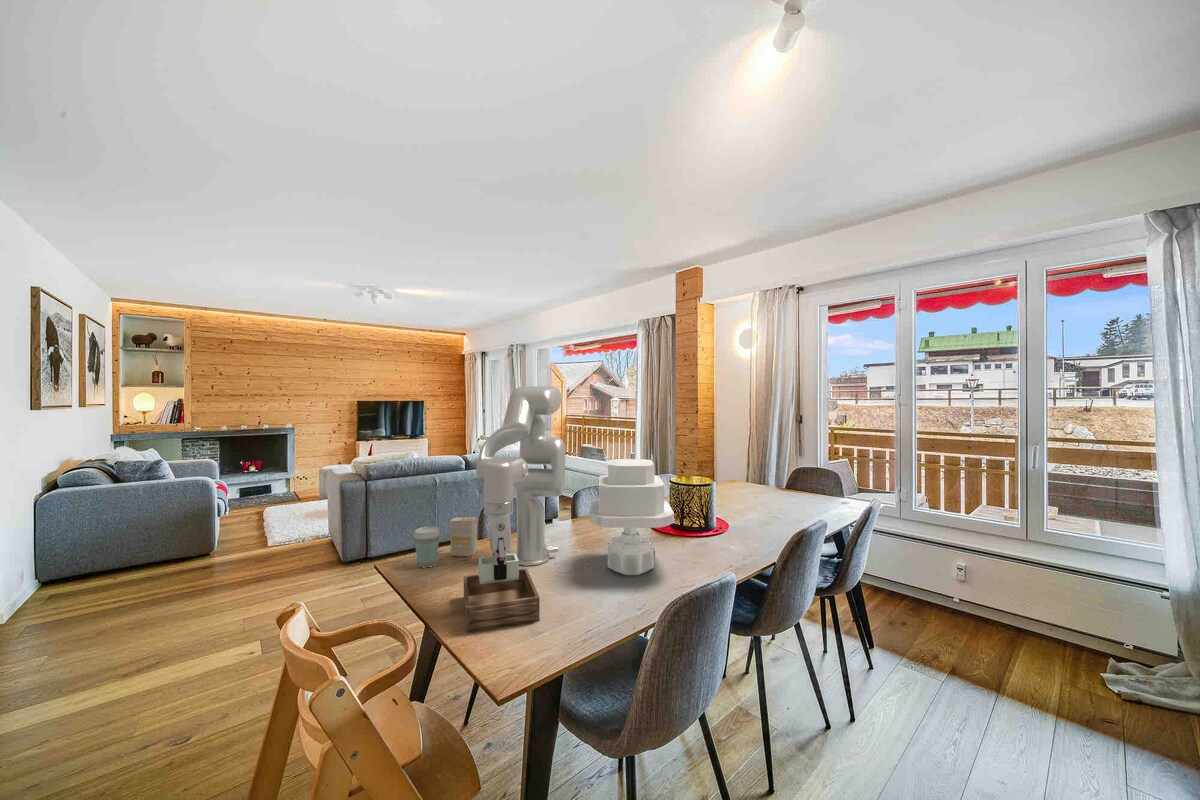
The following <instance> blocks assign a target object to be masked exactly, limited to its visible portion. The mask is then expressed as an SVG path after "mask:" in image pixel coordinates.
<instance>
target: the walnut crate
mask: <svg viewBox="0 0 1200 800" xmlns="http://www.w3.org/2000/svg"><path fill="white" fill-rule="evenodd" d="M463 605H464V621H465V633H471V632H478V631H484V630H491V629H497V628H503V627H509V626H515V625H521V624H528V623H532V622H533V623H535V622H539V621H540V611H541V610H540V595H539V594H538V591H537V588H536V586H535V584H534V581H533V579H532V576H531V575H530V571H529V569H528V568H519V580H511V581H503V582H495V583H487V584H480V580H479V573H478V574H471V575H464V576H463Z"/></svg>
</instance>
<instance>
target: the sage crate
mask: <svg viewBox="0 0 1200 800" xmlns="http://www.w3.org/2000/svg"><path fill="white" fill-rule="evenodd" d="M516 553H517V552H515V553H508V554H507V553H506V563H507V578H506V579H503V580H494V565H495V555H489V556H487V555H486V556H481V557H480V556H479V557H478V574H479V580H480V584H487V583H495V582H503V581H511V580H519V569H520V565H519V560H518V557H517V555H516ZM498 557H499V555H497V558H498Z"/></svg>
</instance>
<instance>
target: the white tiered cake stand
mask: <svg viewBox="0 0 1200 800" xmlns="http://www.w3.org/2000/svg"><path fill="white" fill-rule="evenodd" d="M655 466H656V465H655V464H654V462H653V461H652V459H646V458H629V459H628V458H615V459H608V461H607V469H608V470H607V473H608V474H604V475H599V478H598V499H593V500H591V501H590V506H589V507H590V508H589V517H588V518H589V520H588V521H589V523H591V524H592V525H595V526H598V527H601V528H602V527H603V528H608V529H611V528H614V529H616V528H617V529H618V528H619V529H621V528H622V529H623V531H621V532H620V535H619V536H616V537H613V538H612V539H610V542H608V543H607V568H609V569H610V570H612V571H614V572H616V573H618V574H622V575H624V576H640V575H641V574H644V573H646V572H649V571H650V570H651V569H654V567H655V563H656V550H655V548H654V546H653V543H651V541H650V539H649V538H647V537H643V536H641V534H640V533H641V532H639V531H638V530H637V529H638V528H639V529H642V528H643V529H645V528H646V529H647V528H648V529H650V528H651V529H652V528H653V529H659V528H664V527H667V526H669V525H672V524H674V523H675V513H674V510H673V509H672V507H671V505H670V503H669V501H667V500H665V483H664V482H663V480H662V479H661V477H660V475H656V474H655Z"/></svg>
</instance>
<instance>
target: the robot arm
mask: <svg viewBox="0 0 1200 800" xmlns="http://www.w3.org/2000/svg"><path fill="white" fill-rule="evenodd" d="M561 405H562V393H561V390H560V389H559V388H558V387H557V386H535V385H534V386H519V387H516V388H514V389H513V390H512V392H511V394H510V395H509V399H508V403H507V407H506V411H505V415H504V419H503V423H502V426H501V427H499V428H498V429H497V430H495V431H494V432H493V433H492V434H491V435H490V436H489V437H487V439H486V440H485V441H484V442H483V444H482V446H481V449H480V451H479V455H478V457H477V458H478V459H477V463H476V468H475V475H476V478H477V480H478V481H479V482H480V483H483V487H484V489H483V490H484V492H483V493H484V496H483V497H484V498H483V499H484V503H483V504H484V510H483V511H484V515H485V516H487V517H488V532H489V545H490V549H491V552H492V553H491V554H492V555H491V556H495V565H494V580H503V579H506V578H507V563H506V554H507V553H508V554H511V552H512V539H511V537H512V536H511V535H512V534H511V518H510V517H511V516H510V515H512V514H513V513H514V494H515V500H516V502H515V503H516V552H515V553H516V555H517V557H518V560H519V566H525V567H528V566H529V567H530V566H537V565H542V564H545V563H546V562H548V561H549V559H550V554H552V553H553V554H555V553H559V547H558V546H554V545H546V541H545V540H546V538H545V534H546V533H545V531H546V530H545V528H546V527H545V508H544V507H545V506H544V504H543V502H542V501H541V499H540V498H539V497H542V498H544V497H546V498H547V497H551V498H552V497H553V498H556V497H561V496H562V495H563V494H564V491H565V485H566V447H565V443H564V441H563V439H561V438H559V437H551V436H550V437H547V436H545V435H546V434H545V432H546V431H545V430H546V424H545V421H544V419H543V418H542V416H550V415H553V414H554V413H556V412H557V411H559V409H560V407H561ZM517 443H519V457H518V456H517V457H516V456H495V455H496V454H497V453H498V452H499V451H500V450H502V449H503V448H505V447H506V448H507V447H509V446H510V445H513V444H517ZM528 465H545V466H546V465H547V466H548V465H549V466H550V467H551V468H538V467H537V468H534V467H532V468H531V467H529V466H528ZM497 555H499V557H498V558H497Z"/></svg>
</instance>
